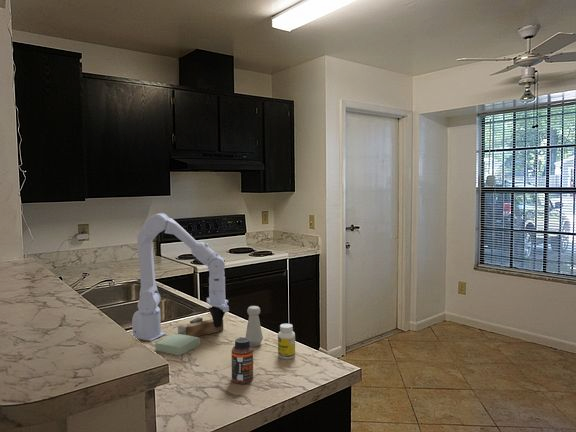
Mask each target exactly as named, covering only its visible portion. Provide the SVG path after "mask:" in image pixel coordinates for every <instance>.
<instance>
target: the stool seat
mask: <svg viewBox="0 0 576 432" xmlns="http://www.w3.org/2000/svg"><path fill="white" fill-rule="evenodd" d="M198 346H200V336H196V337H194V336H188V335H183V334H178V332H176V333H173V334H171V335H169V336H166V337H165V338H162V339H161V340H159V341H156V342H155V351H157V352H161V353H168V354H173V355H176V356H182V355H184V354H185V353H187V352H188V351H191V350H192V349H194V348H196V347H198Z"/></svg>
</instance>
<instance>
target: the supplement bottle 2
mask: <svg viewBox="0 0 576 432" xmlns="http://www.w3.org/2000/svg"><path fill="white" fill-rule="evenodd" d="M293 327H294V326H293V324H292V323H281V324H280V325H279V330H280V331H279V332H278V333H277V355H278V357H279V358H280V359H284V360H290V359H293V358H294V357H295V356H296V333H295V331H294V328H293Z"/></svg>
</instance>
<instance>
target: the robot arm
mask: <svg viewBox="0 0 576 432" xmlns="http://www.w3.org/2000/svg"><path fill="white" fill-rule="evenodd" d="M162 232H164V234H169V235H174V236H175V237H176V238H177V239H179V240H180V241H181V242H182V243H184V245H186V246H187V247H188V248H189V249H190V250H191V255H192V256H193V257H194V258H196V259H197V260H198V262H200V263H201V264H203V265H204V266H207V270H208V272H209V277H208V284H209V285H208V295H209V296H208V297H206V304H208V305H209V306H210V307H208V311H209V312H210V315H211V318H212V319H213V322H214V326H215V327H216V328H217V327H221V325H222V320H223V321H224V316H225V313H227V312H229V311H230V306H229V305H228V303H229V299H226V276H225V274H226V273H225V268H226V261H225V258H223V256H222V255H219V253H218V252H215V251H214V250H213V249H211V248H210V247H209V243H207V242H203V241H197V240H196V239H195V238H194V237H193V236H192V235H191V234H190V233H189V232H187V230H186V229H185V228H183V227H182V225H180V224H179V223H178V222H177V221H176V220H174V219H173V218H171V217H169V215H168V214H166V213H164V212H158V213H156V214H152V215H151V216H150V217H148V218H147V219H146V220H145V221H144V222H143V225H142V227H141V228H140V231H139V232H138V233H137V238H136V239H137V242H136V243H137V254H138V255H137V256H138V265H139V266H138V267H139V278H140V280H139V281H140V289H139V298H138V302H137V309H138V310H136V311H135V312H134V313H133V316H132V319H131V320H132V322H131V323H132V325H131V326H132V335H133V336H135V337H136V338H135V339H139V340H145V341H149V342H152V341H154V340H157V339H159V338H161V337H163V336H165V335H167V332H165V331H162V326H161V325H162V323H161V307H159V304H160V302H161V299H162V298H161V294H160V293H159V291H158V286H157V284H156V275H155V271H156V270H155V261H154V249H153V244H154V243H153V240H154V239H155V238H156V237H157V236H158V235H159V233H162Z"/></svg>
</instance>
